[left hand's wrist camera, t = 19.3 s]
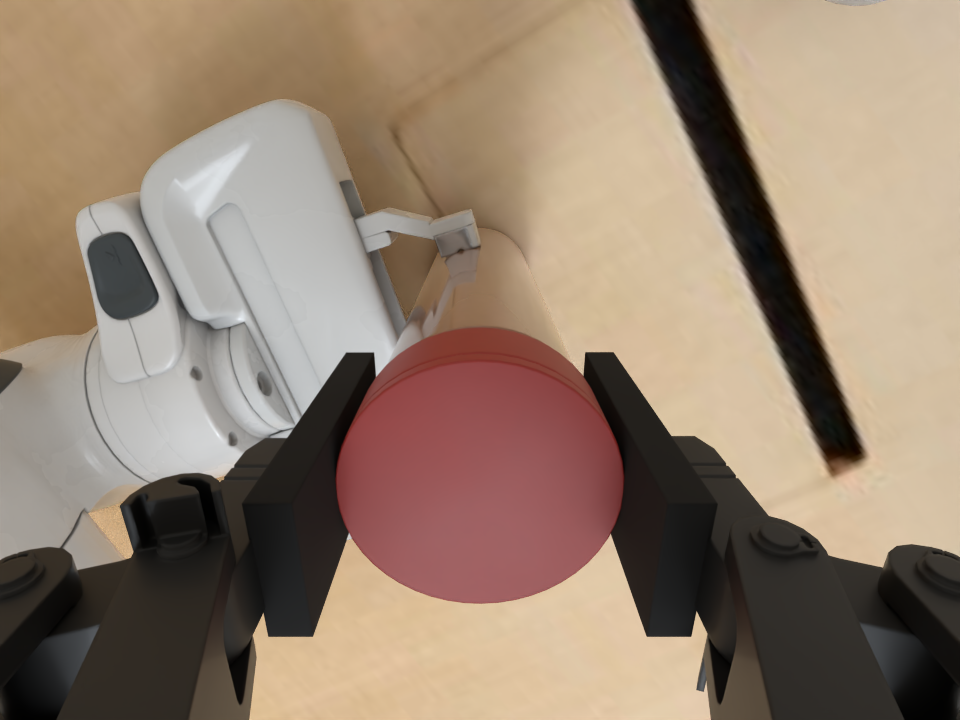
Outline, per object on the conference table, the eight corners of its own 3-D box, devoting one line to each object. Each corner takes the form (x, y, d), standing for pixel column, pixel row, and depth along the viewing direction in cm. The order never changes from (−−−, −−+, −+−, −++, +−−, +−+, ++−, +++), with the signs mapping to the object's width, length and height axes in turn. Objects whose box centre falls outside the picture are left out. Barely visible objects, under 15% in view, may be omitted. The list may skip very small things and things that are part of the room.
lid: (552, 285, 11) (569, 311, 9) (633, 497, 13) (659, 555, 11) (312, 382, 11) (279, 426, 10) (421, 568, 13) (411, 634, 12)
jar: (454, 335, 30) (415, 599, 12) (416, 249, 29) (305, 408, 10) (540, 302, 30) (637, 531, 11) (508, 212, 28) (560, 312, 10)
